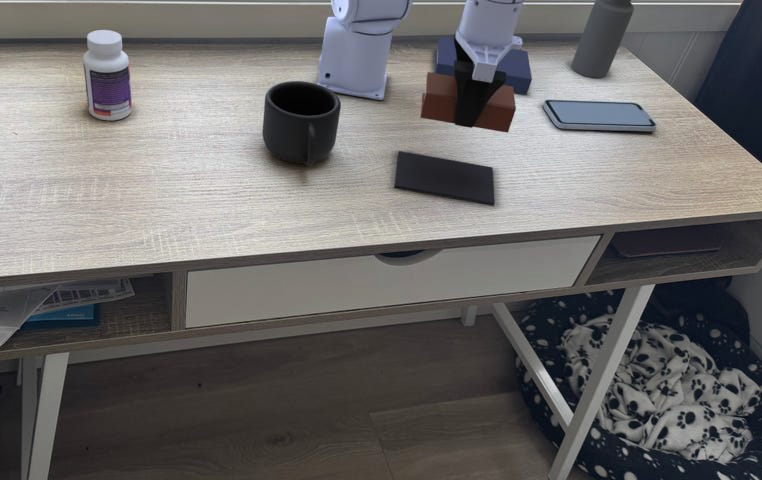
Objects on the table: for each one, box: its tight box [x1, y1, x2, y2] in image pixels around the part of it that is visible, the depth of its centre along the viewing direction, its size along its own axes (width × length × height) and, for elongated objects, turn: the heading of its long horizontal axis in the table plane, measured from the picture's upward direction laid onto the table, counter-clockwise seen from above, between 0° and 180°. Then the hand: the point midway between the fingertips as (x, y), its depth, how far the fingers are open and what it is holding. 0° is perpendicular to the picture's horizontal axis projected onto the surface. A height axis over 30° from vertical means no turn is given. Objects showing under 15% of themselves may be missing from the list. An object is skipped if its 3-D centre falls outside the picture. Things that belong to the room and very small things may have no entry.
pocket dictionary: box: [420, 71, 517, 134], centre depth 84 cm, size 10×6×3 cm, turn 81°
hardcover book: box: [433, 35, 533, 96], centre depth 112 cm, size 14×10×2 cm
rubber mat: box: [394, 150, 496, 206], centre depth 90 cm, size 12×8×1 cm, turn 81°
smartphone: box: [542, 99, 658, 132], centre depth 106 cm, size 7×1×15 cm
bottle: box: [570, 0, 635, 79], centre depth 113 cm, size 6×6×15 cm
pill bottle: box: [82, 29, 133, 121], centre depth 90 cm, size 5×5×10 cm
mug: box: [262, 80, 342, 167], centre depth 88 cm, size 12×9×7 cm
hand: (463, 112), depth 85 cm, fingers closed on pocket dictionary, 5 cm apart
